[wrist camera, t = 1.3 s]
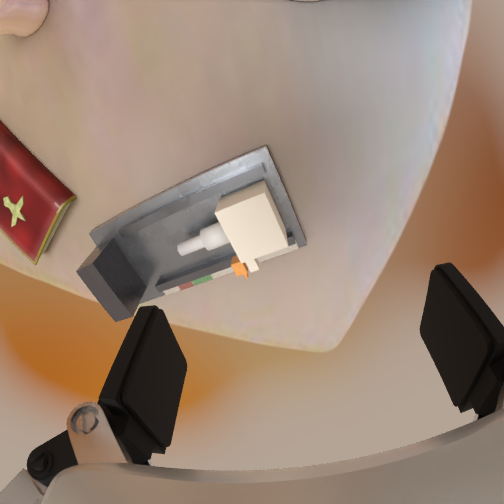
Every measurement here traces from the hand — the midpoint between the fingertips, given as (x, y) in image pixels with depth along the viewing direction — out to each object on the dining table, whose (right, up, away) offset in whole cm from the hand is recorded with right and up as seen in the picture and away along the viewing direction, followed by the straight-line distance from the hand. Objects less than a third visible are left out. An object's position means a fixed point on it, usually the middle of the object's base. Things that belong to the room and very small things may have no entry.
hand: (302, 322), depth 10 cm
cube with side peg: (-4, +5, +23) cm, 24 cm away
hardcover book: (-35, +13, +22) cm, 44 cm away
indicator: (-3, +1, +24) cm, 24 cm away
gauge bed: (-9, +4, +25) cm, 27 cm away
